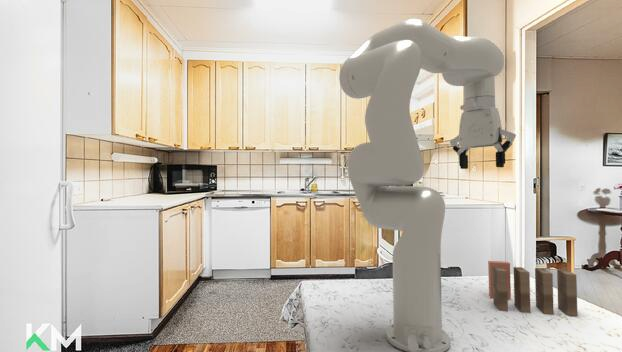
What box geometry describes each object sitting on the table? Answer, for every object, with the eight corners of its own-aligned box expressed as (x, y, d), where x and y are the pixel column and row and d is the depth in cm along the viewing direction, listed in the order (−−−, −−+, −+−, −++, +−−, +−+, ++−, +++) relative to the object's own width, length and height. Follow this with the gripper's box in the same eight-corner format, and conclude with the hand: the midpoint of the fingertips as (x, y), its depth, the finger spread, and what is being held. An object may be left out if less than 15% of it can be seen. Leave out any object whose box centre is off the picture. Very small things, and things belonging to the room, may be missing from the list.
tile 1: (577, 316, 80) (576, 274, 80) (567, 315, 81) (566, 274, 81) (567, 309, 85) (566, 269, 85) (558, 308, 85) (557, 269, 86)
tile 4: (507, 311, 84) (507, 271, 84) (499, 310, 84) (498, 270, 84) (501, 304, 89) (501, 266, 89) (493, 303, 89) (492, 266, 89)
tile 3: (530, 313, 83) (529, 272, 83) (521, 312, 83) (520, 271, 83) (523, 305, 87) (522, 267, 88) (514, 305, 88) (513, 267, 88)
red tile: (508, 297, 94) (507, 261, 94) (510, 299, 92) (510, 263, 92) (489, 295, 95) (488, 260, 96) (490, 298, 93) (490, 262, 94)
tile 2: (553, 314, 81) (552, 273, 82) (544, 314, 82) (543, 273, 82) (544, 307, 86) (543, 268, 86) (535, 306, 87) (535, 268, 87)
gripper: (443, 110, 96) (444, 169, 96) (507, 97, 83) (509, 166, 82) (456, 113, 101) (458, 169, 101) (519, 101, 87) (521, 166, 87)
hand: (481, 168), depth 92 cm, fingers open, 9 cm apart
